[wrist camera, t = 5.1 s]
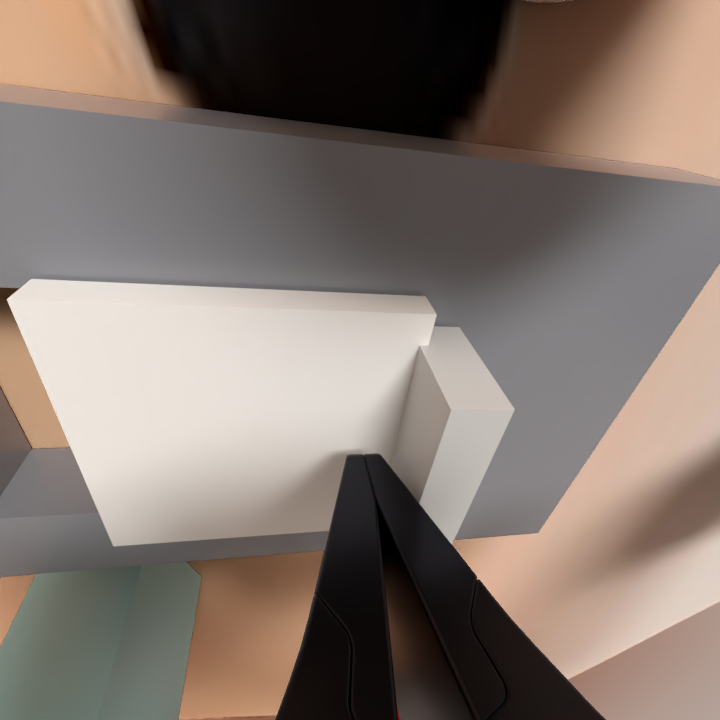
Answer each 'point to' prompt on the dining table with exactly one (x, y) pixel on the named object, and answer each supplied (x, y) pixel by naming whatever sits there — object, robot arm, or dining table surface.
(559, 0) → the teacup with lid
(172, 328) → the panel
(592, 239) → the socket plate
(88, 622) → the teal rectangular bottle
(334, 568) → the robot arm
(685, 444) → the dining table surface
